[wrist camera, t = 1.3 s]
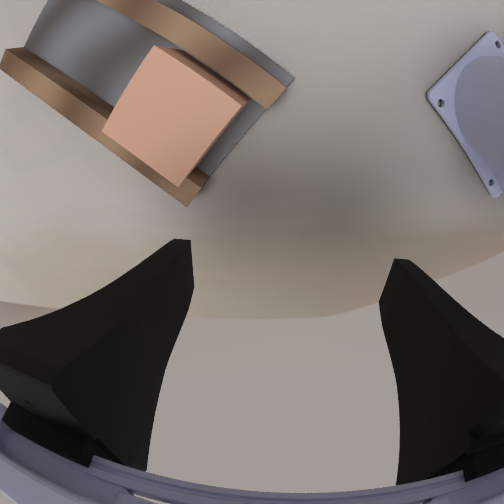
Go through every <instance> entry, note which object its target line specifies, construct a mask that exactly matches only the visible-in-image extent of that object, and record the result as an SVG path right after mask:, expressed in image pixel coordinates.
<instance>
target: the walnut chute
mask: <svg viewBox="0 0 504 504" xmlns="http://www.w3.org/2000/svg"><path fill="white" fill-rule="evenodd" d="M154 45H156V46H162V47H168V48H174V49H179V50H182V51H184V52H186V53H187V54H189V55H190V56H192V57H193V58H195V59H196V60H198V61H199V62H201V63H202V64H204V65H205V66H206V67H208V68H209V69H211V70H212V71H214V72H215V73H217V74H218V75H219V76H221V77H222V78H224V79H225V80H226V81H228V82H229V83H230V84H232V85H233V86H235V87H236V88H237V89H239V90H240V91H241V92H243V93H244V94H245V95H247V96H248V97H249V98H250V99H251V100H250V101H249V102H248V103H247V104H246V106H245V107H244V108H243V109H242V110H241V111H240V113H239V114H238V115H237V116H236V117H235V119H234V120H233V121H232V122H231V123H230V125H229V126H228V127H227V128H226V129H225V131H224V132H223V133H222V134H221V136H220V137H219V138H218V139H217V141H216V142H215V143H214V144H213V146H212V147H211V148H210V150H209V151H208V152H207V153H206V155H205V156H204V157H203V159H202V160H201V161H200V162H199V164H198V165H197V166H196V167H195V168H194V169H193V171H192V172H191V173H190V174H189V175H188V176H187V178H186V179H185V180H184V181H183V182H182V183H181V185H180V186H179V187H177V186H176V185H174V184H173V183H171V182H170V181H169V180H167V179H166V178H165V177H163V176H162V175H161V174H159V173H158V172H157V171H155V170H154V169H152V168H151V167H150V166H148V165H147V164H146V163H144V162H143V161H142V160H140V159H139V158H137V157H136V156H135V155H133V154H132V153H131V152H129V151H128V150H127V149H125V148H124V147H122V146H121V145H120V144H118V143H117V142H116V141H114V140H113V139H112V138H110V137H109V136H107V135H106V134H105V133H103V132H102V129H103V128H104V126H105V124H106V122H107V120H108V118H109V116H110V114H111V113H112V111H113V109H114V107H115V106H116V104H117V102H118V100H119V99H120V97H121V95H122V94H123V92H124V90H125V89H126V87H127V85H128V84H129V82H130V80H131V79H132V77H133V76H134V74H135V73H136V71H137V69H138V68H139V66H140V65H141V63H142V62H143V60H144V59H145V57H146V56H147V55H148V53H149V52H150V50H151V49H152V47H153V46H154ZM0 69H1V70H2V71H4V72H5V73H6V74H8V75H9V76H10V77H12V78H13V79H14V80H16V81H17V82H18V83H20V84H21V85H22V86H24V87H25V88H26V89H28V90H29V91H30V92H32V93H33V94H35V95H36V96H37V97H39V98H40V99H41V100H43V101H44V102H45V103H47V104H48V105H49V106H51V107H52V108H53V109H55V110H56V111H57V112H59V113H60V114H62V115H63V116H64V117H66V118H67V119H68V120H70V121H71V122H72V123H74V124H75V125H76V126H78V127H79V128H80V129H82V130H83V131H84V132H86V133H87V134H89V135H90V136H91V137H93V138H94V139H95V140H97V141H98V142H99V143H101V144H102V145H103V146H105V147H106V148H107V149H109V150H110V151H112V152H113V153H114V154H116V155H117V156H118V157H120V158H121V159H122V160H124V161H125V162H126V163H128V164H129V165H130V166H132V167H133V168H135V169H136V170H137V171H139V172H140V173H141V174H143V175H144V176H145V177H147V178H148V179H149V180H151V181H152V182H154V183H155V184H156V185H158V186H159V187H160V188H162V189H163V190H164V191H166V192H167V193H168V194H170V195H171V196H173V197H174V198H175V199H177V200H178V201H179V202H181V203H182V204H183V205H185V206H186V207H187V206H188V205H189V204H190V202H191V201H192V200H193V198H194V197H195V196H196V194H197V193H198V192H199V191H200V189H201V188H202V186H203V185H204V183H205V182H206V181H207V179H208V178H209V176H210V175H211V174H212V172H213V171H214V170H215V169H216V167H217V166H218V165H219V164H220V162H221V161H222V160H223V159H224V158H225V156H226V155H227V154H228V153H229V151H230V150H231V149H232V148H233V147H234V145H235V144H236V143H237V142H238V141H239V140H240V138H241V137H242V136H243V135H244V134H245V132H246V131H247V130H248V129H249V128H250V127H251V125H252V124H253V123H254V122H255V121H256V120H257V119H258V117H259V116H260V115H261V114H262V113H263V112H264V111H265V110H266V109H268V108H269V107H270V106H271V105H272V104H273V102H274V101H275V100H276V99H277V98H278V97H279V96H280V95H281V94H282V93H283V91H284V90H285V89H286V88H287V87H286V86H287V85H288V84H289V83H290V82H291V81H292V80H293V79H294V77H293V76H292V75H291V74H289V73H288V72H287V71H286V70H284V69H283V68H282V67H281V66H279V65H278V64H277V63H275V62H274V61H273V60H271V59H270V58H269V57H267V56H266V55H265V54H263V53H262V52H261V51H259V50H258V49H257V48H255V47H254V46H252V45H251V44H250V43H248V42H247V41H245V40H244V39H242V38H241V37H240V36H238V35H237V34H235V33H234V32H232V31H231V30H229V29H228V28H226V27H225V26H223V25H221V24H220V23H218V22H217V21H215V20H213V19H212V18H210V17H209V16H207V15H205V14H204V13H202V12H200V11H199V10H197V9H195V8H193V7H192V6H190V5H188V4H186V3H185V2H183V1H181V0H48V1H47V3H46V5H45V6H44V8H43V10H42V12H41V14H40V16H39V18H38V19H37V21H36V23H35V25H34V27H33V29H32V31H31V33H30V35H29V38H28V40H27V42H26V44H25V46H24V47H21V48H12V49H6V50H5V53H4V55H3V58H2V60H1V63H0Z"/></svg>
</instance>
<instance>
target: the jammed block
mask: <svg viewBox="0 0 504 504" xmlns="http://www.w3.org/2000/svg"><path fill="white" fill-rule="evenodd" d="M250 100H251V99H250V98H249V97H248V96H247V95H245V94H244V93H243V92H241V91H240V90H239V89H237V88H236V87H235V86H233V85H232V84H230V83H229V82H228V81H226V80H225V79H224V78H222V77H221V76H219V75H218V74H217V73H215V72H214V71H212V70H211V69H209V68H208V67H206V66H205V65H204V64H202V63H201V62H199V61H198V60H196V59H195V58H193V57H192V56H190V55H189V54H187V53H186V52H184V51H182V50H179V49H174V48H168V47H162V46H156V45H154V46H153V47H152V49H151V50H150V52H149V53H148V55H147V56H146V57H145V59H144V60H143V62H142V63H141V65H140V66H139V68H138V69H137V71H136V73H135V74H134V76H133V77H132V79H131V80H130V82H129V84H128V85H127V87H126V89H125V90H124V92H123V94H122V95H121V97H120V99H119V100H118V102H117V104H116V106H115V107H114V109H113V111H112V113H111V114H110V116H109V118H108V120H107V122H106V124H105V126H104V128H103V129H102V132H103V133H105V134H106V135H107V136H109V137H110V138H112V139H113V140H114V141H116V142H117V143H118V144H120V145H121V146H122V147H124V148H125V149H127V150H128V151H129V152H131V153H132V154H133V155H135V156H136V157H137V158H139V159H140V160H142V161H143V162H144V163H146V164H147V165H148V166H150V167H151V168H152V169H154V170H155V171H157V172H158V173H159V174H161V175H162V176H163V177H165V178H166V179H167V180H169V181H170V182H171V183H173V184H174V185H176V186H177V187H179V186H180V185H181V183H182V182H183V181H184V180H185V179H186V178H187V176H188V175H189V174H190V173H191V172H192V171H193V169H194V168H195V167H196V166H197V165H198V164H199V162H200V161H201V160H202V159H203V157H204V156H205V155H206V153H207V152H208V151H209V150H210V148H211V147H212V146H213V144H214V143H215V142H216V141H217V139H218V138H219V137H220V136H221V134H222V133H223V132H224V131H225V129H226V128H227V127H228V126H229V125H230V123H231V122H232V121H233V120H234V119H235V117H236V116H237V115H238V114H239V113H240V111H241V110H242V109H243V108H244V107H245V106H246V104H247V103H248V102H249V101H250Z"/></svg>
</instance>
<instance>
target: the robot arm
mask: <svg viewBox="0 0 504 504" xmlns="http://www.w3.org/2000/svg"><path fill="white" fill-rule="evenodd" d="M495 42H496V43H497V46H498V47H496V45H495ZM427 99H428V100H429V102H430V103H431V104H432V106H433V107H434V108H435V110H436V111H437V112H438V114H439V115H440V116H441V118H442V119H443V120H444V122H445V123H446V125H447V126H448V127H449V129H450V130H451V132H452V133H453V134H454V136H455V137H456V139H457V140H458V142H459V143H460V145H461V146H462V148H463V150H464V151H465V153H466V154H467V156H468V157H469V159H470V161H471V162H472V164H473V166H474V167H475V169H476V171H477V172H478V174H479V176H480V178H481V179H482V181H483V183H484V185H485V187H486V188H487V190H488V192H489V194H490V195H491V197H493V198H498V197H499V196H500V195H501V194H502V193H503V192H504V45H503V44H502V42H501V41H500V39H499V38H498V36H497V35H496V34H495V33H494V32H492V31H489V32H487V33H486V34H485V35H484V36H483V37H482V38H481V39H480V40H479V41H478V42H477V43H476V44H475V45H474V46H473V47H472V48H471V49H470V50H469V51H468V52H467V53H466V54H465V55H464V56H463V57H462V58H461V59H460V60H459V61H458V62H457V63H456V64H455V65H454V66H453V67H452V68H451V69H450V70H449V71H448V72H447V73H446V74H445V75H444V76H443V77H442V78H441V79H440V80H439V81H438V82H437V83H436V84H435V85H434V86H433V87H432V88H431V89H430V90H429V91H428V92H427ZM439 99H440V100H441V101H442V104H441V106H438V100H439ZM490 180H491V183H490V184H489V181H490ZM193 290H194V277H193V265H192V253H191V240H183V239H173V240H171V241H170V242H168V243H167V244H166V245H164V246H163V247H161V248H160V249H159V250H157V251H156V252H155V253H153V254H152V255H151V256H149V257H148V258H146V259H145V260H144V261H142V262H141V263H140V264H138V265H137V266H136V267H134V268H133V269H131V270H130V271H128V272H127V273H125V274H124V275H122V276H121V277H119V278H118V279H116V280H115V281H113V282H112V283H110V284H108V285H107V286H105V287H103V288H102V289H100V290H98V291H96V292H94V293H93V294H91V295H89V296H87V297H85V298H83V299H81V300H79V301H77V302H75V303H72V304H70V305H68V306H66V307H64V308H62V309H59V310H57V311H54V312H52V313H49V314H46V315H44V316H41V317H38V318H35V319H32V320H29V321H26V322H22V323H18V324H15V325H11V326H7V327H3V328H1V329H0V390H1V391H2V392H3V393H4V395H5V396H6V397H8V399H9V400H10V401H11V403H10V405H9V407H8V408H6V407H5V406H4V405H3V404H1V403H0V492H2V493H3V494H4V495H5V496H7V497H8V498H9V499H10V500H12V501H13V502H14V503H15V504H157V503H154V502H151V501H148V500H145V499H142V498H139V497H136V496H134V494H136V495H140V496H143V497H147V498H150V499H154V500H158V501H161V502H165V503H170V504H421V503H422V504H504V338H502V337H501V336H500V335H498V334H497V333H495V332H494V331H492V330H491V329H489V328H488V327H487V326H486V325H484V324H483V323H482V322H481V321H479V320H478V319H477V318H475V317H474V316H473V315H472V314H470V313H469V312H468V311H467V310H466V309H465V308H463V307H462V306H461V305H460V304H459V303H458V302H456V301H455V300H454V299H453V298H452V297H451V296H450V295H449V294H448V293H447V292H445V291H444V290H443V289H442V288H441V287H440V286H439V285H438V284H437V283H436V282H435V281H434V280H432V279H431V278H430V277H429V276H428V275H427V274H426V273H425V272H424V271H423V270H421V269H420V268H419V267H418V266H417V265H415V264H414V263H413V262H411V261H410V260H405V259H395V258H394V261H393V264H392V267H391V270H390V273H389V276H388V278H387V281H386V284H385V287H384V289H383V292H382V295H381V297H380V300H379V306H380V314H381V321H382V327H383V331H384V334H385V338H386V342H387V346H388V349H389V353H390V357H391V361H392V365H393V368H394V373H395V377H396V383H397V390H398V400H399V415H400V451H399V464H398V473H397V481H396V486H390V487H383V488H376V489H368V490H358V491H347V492H331V493H275V492H258V491H247V490H237V489H229V488H221V487H214V486H208V485H202V484H196V483H191V482H186V481H181V480H177V479H172V478H168V477H163V476H159V475H156V474H152V473H148V472H145V471H146V470H147V462H148V454H149V446H150V439H151V433H152V427H153V422H154V416H155V411H156V407H157V402H158V397H159V393H160V389H161V385H162V381H163V376H164V373H165V369H166V366H167V363H168V360H169V357H170V355H171V352H172V349H173V347H174V345H175V342H176V340H177V337H178V335H179V332H180V330H181V327H182V325H183V322H184V320H185V317H186V315H187V312H188V309H189V305H190V302H191V298H192V294H193Z"/></svg>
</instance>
